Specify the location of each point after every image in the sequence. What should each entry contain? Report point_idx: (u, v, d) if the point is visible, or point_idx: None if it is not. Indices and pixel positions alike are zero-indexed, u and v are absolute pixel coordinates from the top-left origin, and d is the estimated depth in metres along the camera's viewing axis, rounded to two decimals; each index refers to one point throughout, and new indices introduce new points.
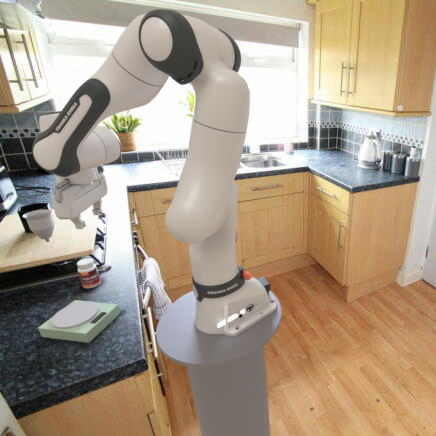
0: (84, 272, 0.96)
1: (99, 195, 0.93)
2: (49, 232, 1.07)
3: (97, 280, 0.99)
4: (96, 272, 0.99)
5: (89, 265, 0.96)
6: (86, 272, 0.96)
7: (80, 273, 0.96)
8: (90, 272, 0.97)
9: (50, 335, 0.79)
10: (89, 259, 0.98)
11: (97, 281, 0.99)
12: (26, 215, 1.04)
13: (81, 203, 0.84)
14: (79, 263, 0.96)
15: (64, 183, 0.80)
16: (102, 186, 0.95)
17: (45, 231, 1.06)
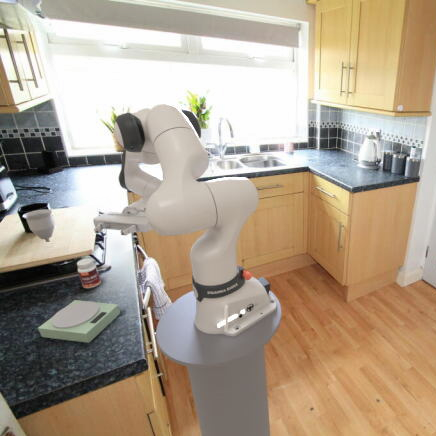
0: (84, 272, 0.96)
1: (133, 220, 1.10)
2: (49, 232, 1.07)
3: (97, 280, 0.99)
4: (96, 272, 0.99)
5: (89, 265, 0.96)
6: (86, 272, 0.96)
7: (80, 273, 0.96)
8: (90, 272, 0.97)
9: (50, 335, 0.79)
10: (89, 259, 0.98)
11: (97, 281, 0.99)
12: (26, 215, 1.04)
13: (110, 217, 1.12)
14: (79, 263, 0.96)
15: None
16: (144, 219, 1.11)
17: (45, 231, 1.06)
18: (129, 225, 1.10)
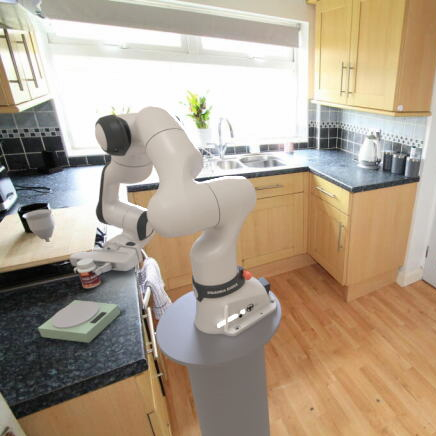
0: (83, 272, 0.96)
1: (112, 258, 1.02)
2: (49, 232, 1.07)
3: (97, 280, 0.99)
4: None
5: (89, 265, 0.96)
6: (86, 272, 0.96)
7: (80, 273, 0.96)
8: (90, 272, 0.97)
9: (50, 335, 0.79)
10: (89, 259, 0.98)
11: (97, 281, 0.99)
12: (26, 215, 1.04)
13: (88, 254, 1.04)
14: (79, 263, 0.96)
15: None
16: (125, 256, 1.03)
17: (45, 231, 1.06)
18: None
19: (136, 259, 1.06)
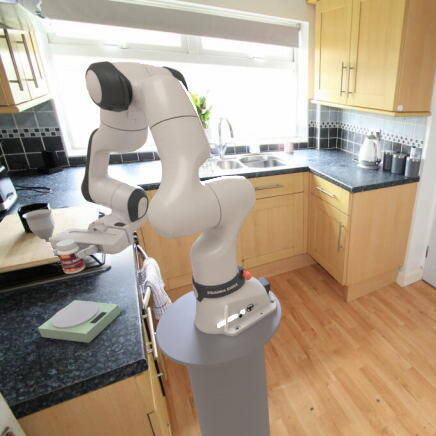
0: (64, 254, 0.83)
1: (98, 240, 0.89)
2: (49, 232, 1.07)
3: (81, 264, 0.86)
4: None
5: (70, 246, 0.83)
6: (67, 255, 0.83)
7: (60, 256, 0.83)
8: (72, 255, 0.84)
9: (50, 335, 0.79)
10: (71, 240, 0.85)
11: (80, 265, 0.86)
12: (26, 215, 1.04)
13: (71, 235, 0.91)
14: (59, 244, 0.83)
15: None
16: (112, 237, 0.90)
17: (45, 231, 1.06)
18: None
19: (126, 241, 0.93)
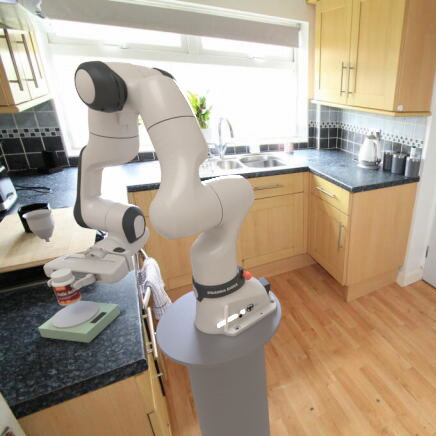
0: (59, 286, 0.77)
1: (96, 268, 0.83)
2: (49, 232, 1.07)
3: (77, 295, 0.81)
4: None
5: (66, 277, 0.77)
6: (62, 286, 0.77)
7: (54, 287, 0.77)
8: (67, 286, 0.78)
9: (50, 335, 0.79)
10: (66, 270, 0.79)
11: (77, 296, 0.80)
12: (26, 215, 1.04)
13: (67, 262, 0.85)
14: (53, 275, 0.77)
15: None
16: (111, 265, 0.84)
17: (45, 231, 1.06)
18: None
19: (126, 269, 0.87)
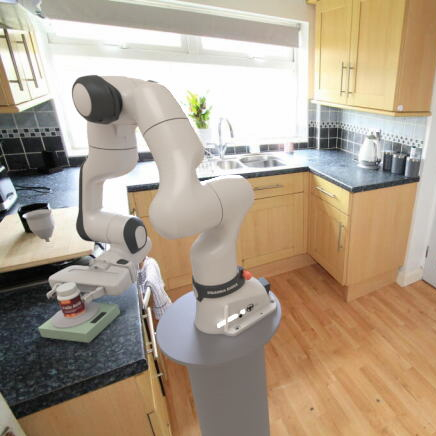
0: (64, 299, 0.79)
1: (100, 280, 0.84)
2: (49, 232, 1.07)
3: (82, 308, 0.82)
4: (80, 299, 0.82)
5: (71, 291, 0.79)
6: (67, 300, 0.79)
7: (60, 301, 0.79)
8: (72, 300, 0.80)
9: (50, 335, 0.79)
10: (71, 283, 0.81)
11: (81, 309, 0.82)
12: (26, 215, 1.04)
13: (71, 275, 0.86)
14: (59, 289, 0.79)
15: None
16: (115, 278, 0.85)
17: (45, 231, 1.06)
18: (95, 286, 0.84)
19: (129, 280, 0.88)
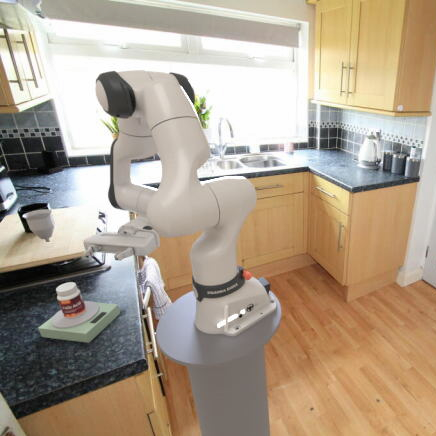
0: (64, 299, 0.79)
1: (129, 242, 0.94)
2: (49, 232, 1.07)
3: (82, 308, 0.82)
4: (80, 299, 0.82)
5: (71, 291, 0.79)
6: (67, 300, 0.79)
7: (60, 301, 0.79)
8: (72, 300, 0.80)
9: (50, 335, 0.79)
10: (71, 283, 0.81)
11: (81, 309, 0.82)
12: (26, 215, 1.04)
13: (103, 238, 0.96)
14: (59, 289, 0.79)
15: None
16: (142, 240, 0.95)
17: (45, 231, 1.06)
18: (125, 248, 0.94)
19: (154, 244, 0.98)
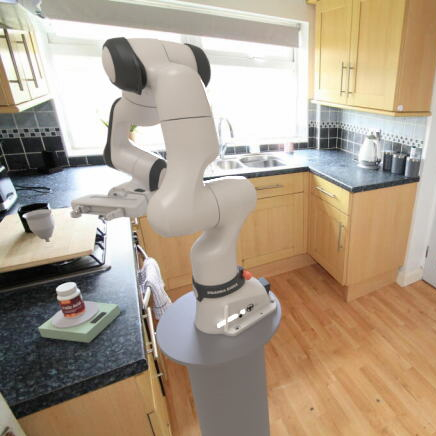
0: (64, 299, 0.79)
1: (120, 203, 0.89)
2: (49, 232, 1.07)
3: (82, 308, 0.82)
4: (80, 299, 0.82)
5: (71, 291, 0.79)
6: (67, 300, 0.79)
7: (60, 301, 0.79)
8: (72, 300, 0.80)
9: (50, 335, 0.79)
10: (71, 283, 0.81)
11: (81, 309, 0.82)
12: (26, 215, 1.04)
13: (92, 199, 0.91)
14: (59, 289, 0.79)
15: None
16: (133, 202, 0.90)
17: (45, 231, 1.06)
18: (115, 209, 0.89)
19: (146, 206, 0.93)
